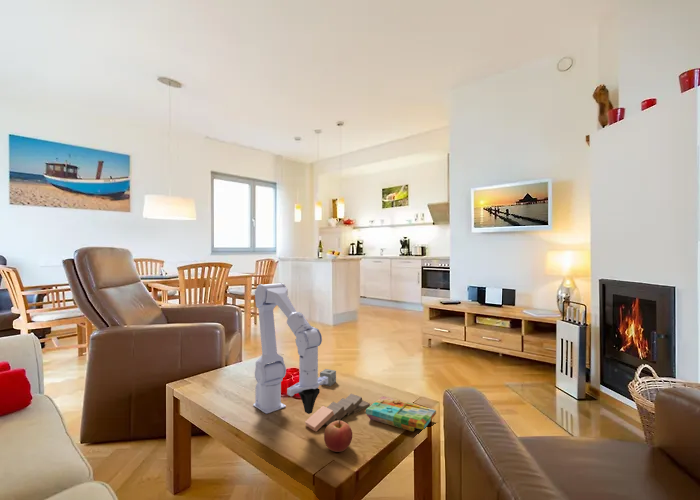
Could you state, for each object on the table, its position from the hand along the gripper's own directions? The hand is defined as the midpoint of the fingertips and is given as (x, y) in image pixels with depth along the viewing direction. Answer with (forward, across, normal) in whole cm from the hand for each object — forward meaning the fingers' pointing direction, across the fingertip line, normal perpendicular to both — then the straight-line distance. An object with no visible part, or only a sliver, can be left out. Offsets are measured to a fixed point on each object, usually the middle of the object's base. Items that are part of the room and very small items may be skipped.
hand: (308, 412), depth 106 cm
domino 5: (+5, +18, 0) cm, 19 cm away
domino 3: (+5, +10, 0) cm, 11 cm away
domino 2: (+5, +5, 0) cm, 7 cm away
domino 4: (+5, +15, 0) cm, 16 cm away
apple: (+6, 0, -14) cm, 15 cm away
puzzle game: (+6, +26, -16) cm, 31 cm away
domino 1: (+5, +1, 0) cm, 5 cm away
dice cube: (+6, +29, +25) cm, 39 cm away
